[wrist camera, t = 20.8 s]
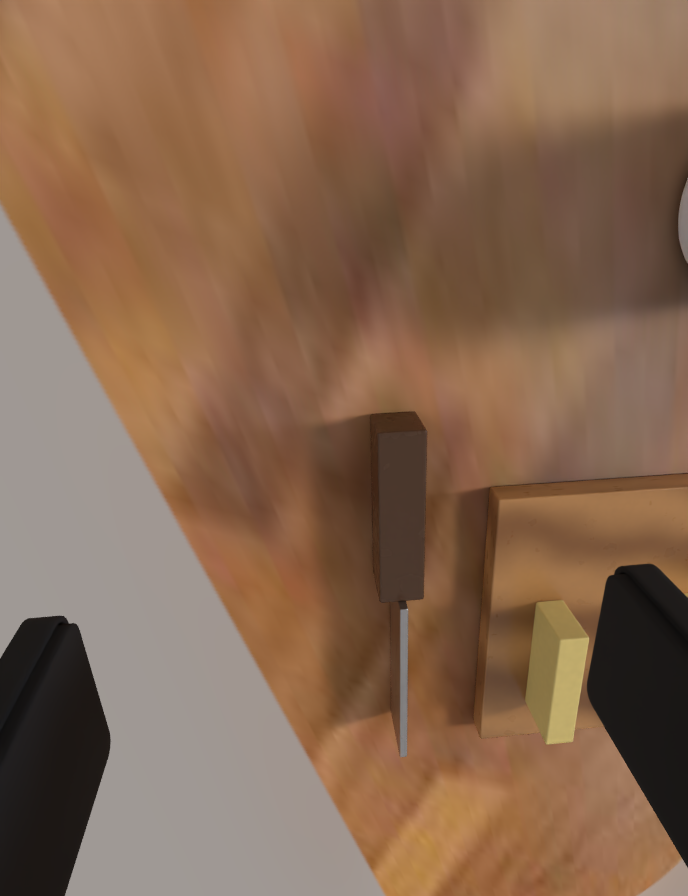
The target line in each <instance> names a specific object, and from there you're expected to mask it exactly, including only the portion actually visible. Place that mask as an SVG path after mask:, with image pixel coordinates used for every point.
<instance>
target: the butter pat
mask: <svg viewBox="0 0 688 896" xmlns="http://www.w3.org/2000/svg"><path fill="white" fill-rule="evenodd" d="M588 643H589V637H588V635H587V634H586V633H585V631H584V630H583V628H582V627H581V625H580V624H579V622H578V621H577V620H576V618H575V617H574V615H573V614H572V612H571V611H570V610H569V608H568V607H567V605H566V604H565V602H564V601H563V600H555V601H544V602H536V608H535V617H534V626H533V635H532V644H531V653H530V662H529V671H528V680H527V689H526V697H525V701H526V704H527V706H528V708H529V710H530V712H531V714H532V716H533V718H534V720H535V722H536V725H537V727H538V729H539V731H540V733H541V735H542V737H543V739H544V741H545V743H546V744H557V743H567V742H572V741H573V736H574V730H575V724H576V717H577V711H578V705H579V699H580V693H581V686H582V680H583V674H584V668H585V661H586V655H587V649H588Z"/></svg>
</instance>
